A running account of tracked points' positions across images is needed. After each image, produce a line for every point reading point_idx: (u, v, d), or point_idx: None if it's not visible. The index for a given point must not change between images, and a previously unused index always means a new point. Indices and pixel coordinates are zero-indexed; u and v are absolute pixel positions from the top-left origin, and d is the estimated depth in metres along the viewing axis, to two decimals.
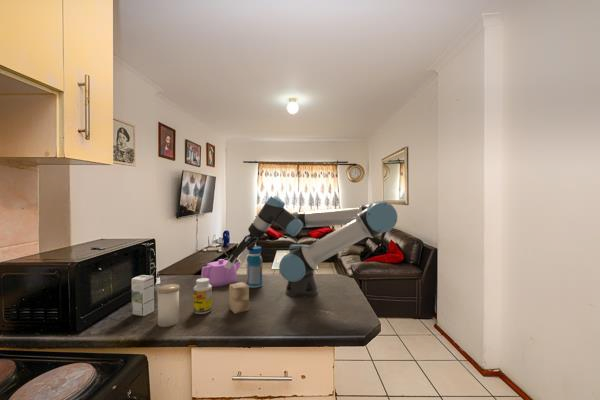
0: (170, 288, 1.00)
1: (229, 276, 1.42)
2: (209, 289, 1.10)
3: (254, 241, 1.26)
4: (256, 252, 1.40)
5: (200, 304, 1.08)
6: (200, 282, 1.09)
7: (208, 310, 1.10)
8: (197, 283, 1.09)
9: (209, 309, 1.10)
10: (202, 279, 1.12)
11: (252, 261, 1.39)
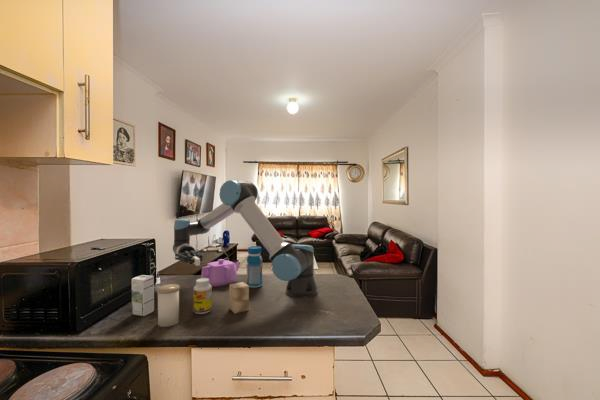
0: (170, 288, 1.00)
1: (229, 276, 1.42)
2: (209, 289, 1.10)
3: (190, 251, 1.31)
4: (256, 252, 1.40)
5: (200, 304, 1.08)
6: (200, 282, 1.09)
7: (208, 310, 1.10)
8: (197, 283, 1.09)
9: (209, 309, 1.10)
10: (202, 279, 1.12)
11: (252, 261, 1.39)
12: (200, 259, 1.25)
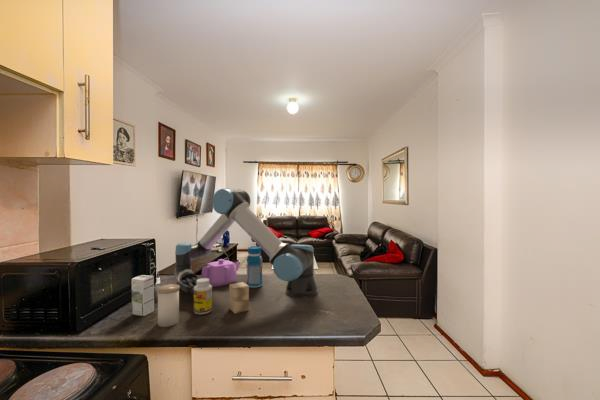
0: (170, 288, 1.00)
1: (229, 276, 1.42)
2: (209, 289, 1.10)
3: (192, 279, 1.28)
4: (256, 252, 1.40)
5: (200, 304, 1.08)
6: (200, 282, 1.08)
7: (208, 310, 1.09)
8: (197, 283, 1.09)
9: (209, 309, 1.10)
10: (202, 279, 1.11)
11: (252, 261, 1.39)
12: None
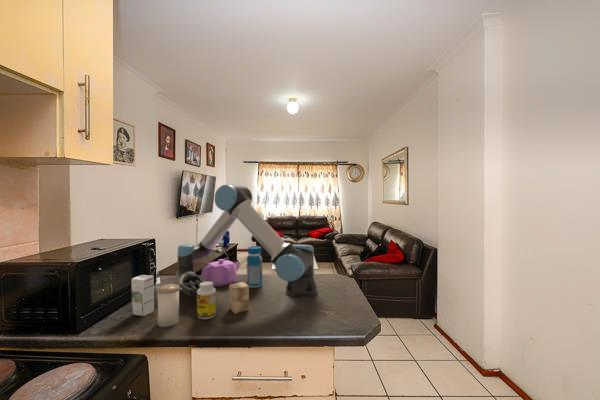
0: (170, 288, 1.00)
1: (229, 276, 1.42)
2: (213, 293, 1.05)
3: (195, 281, 1.24)
4: (256, 252, 1.40)
5: (203, 309, 1.03)
6: (203, 286, 1.04)
7: (212, 315, 1.05)
8: (200, 287, 1.05)
9: (213, 314, 1.05)
10: (206, 282, 1.07)
11: (252, 261, 1.39)
12: None
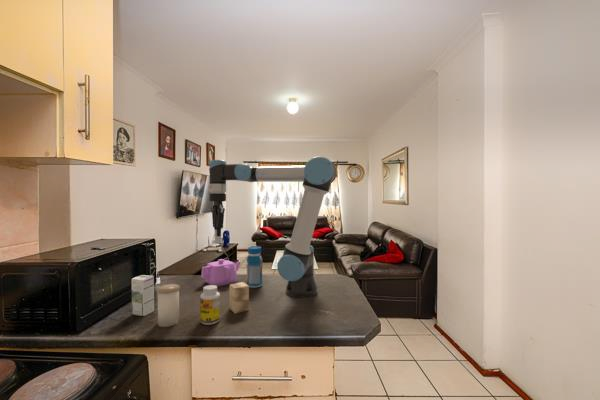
0: (170, 288, 1.00)
1: (229, 276, 1.42)
2: (217, 298, 1.01)
3: None
4: (256, 252, 1.40)
5: (207, 314, 0.99)
6: (207, 290, 1.00)
7: (216, 320, 1.00)
8: (204, 291, 1.00)
9: (217, 319, 1.01)
10: (210, 286, 1.03)
11: (252, 261, 1.39)
12: None
